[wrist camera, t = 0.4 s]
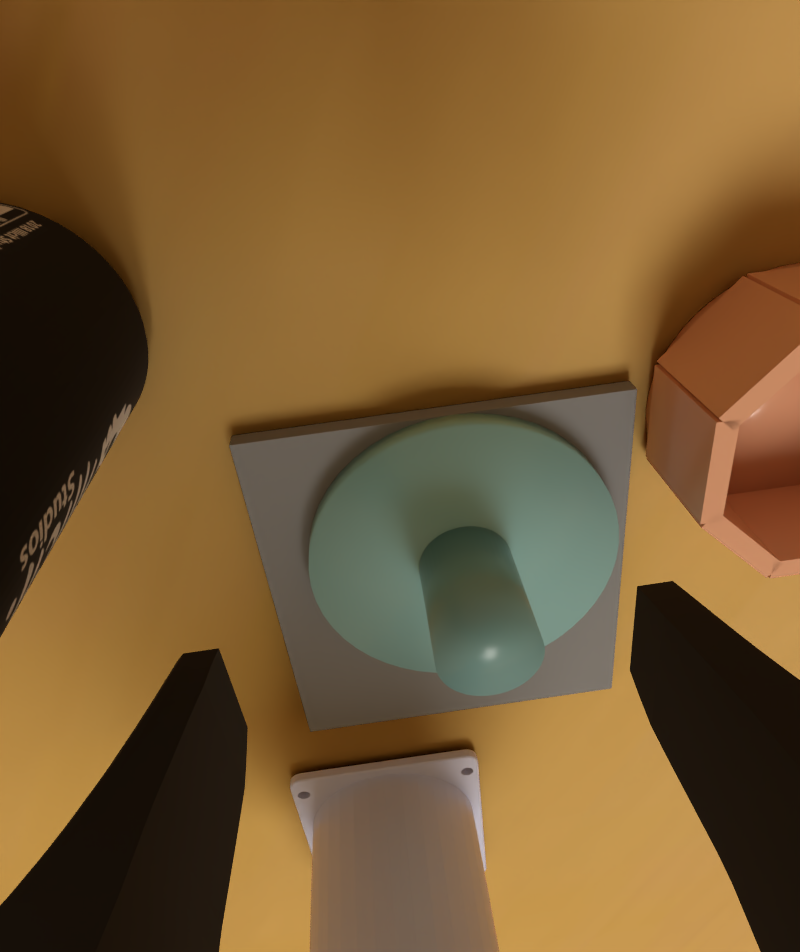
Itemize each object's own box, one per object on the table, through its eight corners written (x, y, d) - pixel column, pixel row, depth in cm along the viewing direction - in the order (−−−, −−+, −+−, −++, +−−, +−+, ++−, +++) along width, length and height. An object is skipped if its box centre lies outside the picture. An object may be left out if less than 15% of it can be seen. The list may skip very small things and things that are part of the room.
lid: (602, 635, 25) (655, 747, 21) (335, 673, 25) (336, 793, 21) (620, 391, 20) (695, 477, 15) (280, 438, 19) (266, 537, 15)
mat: (606, 676, 27) (611, 688, 26) (310, 719, 27) (310, 731, 26) (629, 381, 20) (636, 389, 20) (231, 435, 20) (229, 445, 19)
